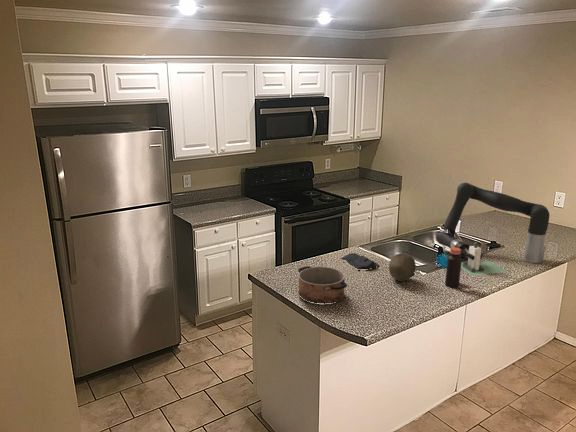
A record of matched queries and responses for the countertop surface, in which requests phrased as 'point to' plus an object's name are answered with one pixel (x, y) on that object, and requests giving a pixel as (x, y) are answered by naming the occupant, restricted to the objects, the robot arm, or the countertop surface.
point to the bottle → (453, 268)
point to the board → (486, 269)
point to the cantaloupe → (402, 266)
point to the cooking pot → (321, 284)
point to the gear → (442, 261)
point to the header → (472, 268)
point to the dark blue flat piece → (359, 261)
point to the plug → (477, 253)
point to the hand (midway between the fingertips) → (477, 257)
